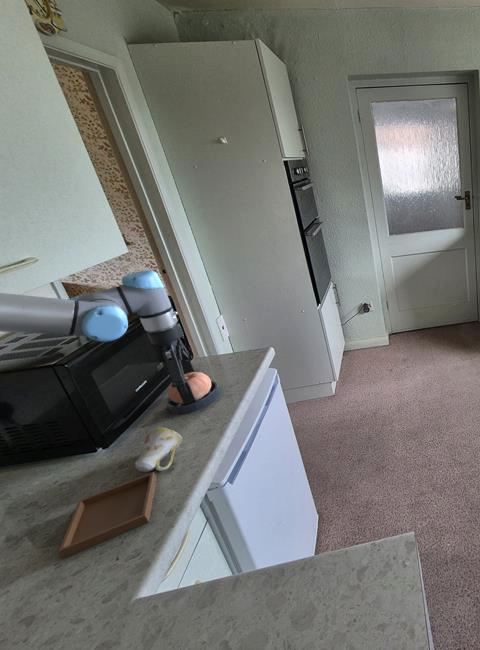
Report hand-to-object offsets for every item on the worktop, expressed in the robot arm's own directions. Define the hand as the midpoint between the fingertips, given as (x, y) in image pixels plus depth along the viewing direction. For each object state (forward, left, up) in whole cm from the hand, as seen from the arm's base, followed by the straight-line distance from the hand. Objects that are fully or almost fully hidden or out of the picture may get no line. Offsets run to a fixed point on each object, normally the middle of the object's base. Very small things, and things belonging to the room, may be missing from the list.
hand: (191, 390), depth 113 cm
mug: (-6, -24, -4) cm, 25 cm away
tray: (-13, -37, -3) cm, 39 cm away
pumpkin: (0, 0, -3) cm, 3 cm away
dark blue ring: (0, 0, -3) cm, 3 cm away
